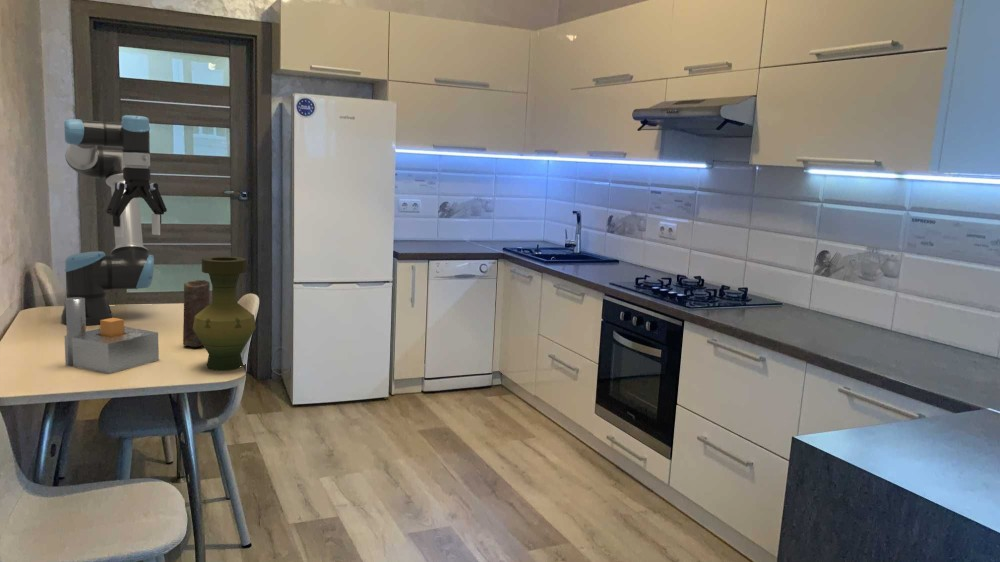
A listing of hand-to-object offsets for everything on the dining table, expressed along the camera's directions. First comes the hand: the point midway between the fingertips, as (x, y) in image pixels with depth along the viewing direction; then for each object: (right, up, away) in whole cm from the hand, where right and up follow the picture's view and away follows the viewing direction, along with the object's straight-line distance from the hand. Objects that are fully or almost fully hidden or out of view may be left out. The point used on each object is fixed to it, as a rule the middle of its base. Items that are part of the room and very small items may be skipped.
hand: (138, 236), depth 223 cm
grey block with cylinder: (+6, -36, -26) cm, 45 cm away
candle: (+20, -34, -5) cm, 40 cm away
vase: (+36, -38, -24) cm, 57 cm away
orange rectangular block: (+6, -36, -26) cm, 45 cm away
